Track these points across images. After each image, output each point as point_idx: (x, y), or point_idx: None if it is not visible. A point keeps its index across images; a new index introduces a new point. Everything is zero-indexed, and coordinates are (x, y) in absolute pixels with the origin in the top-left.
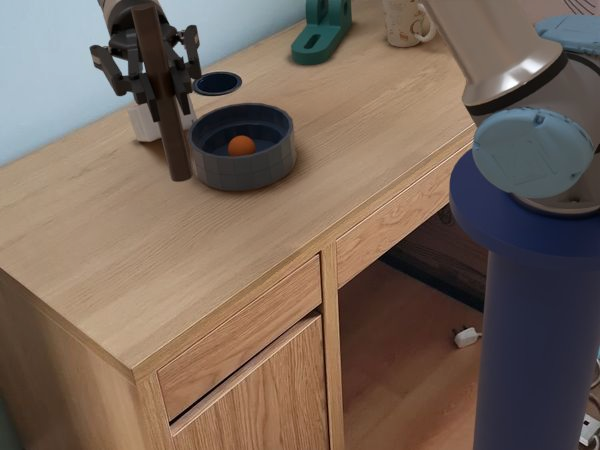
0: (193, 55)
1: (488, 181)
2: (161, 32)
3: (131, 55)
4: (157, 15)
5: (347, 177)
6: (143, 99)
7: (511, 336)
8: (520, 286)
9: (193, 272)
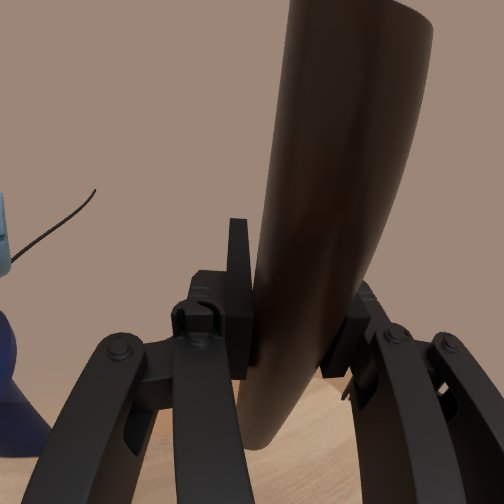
0: (107, 369)
1: None
2: (273, 140)
3: (448, 496)
4: (285, 48)
5: (22, 497)
6: None
7: (37, 421)
8: (14, 392)
9: (253, 461)
